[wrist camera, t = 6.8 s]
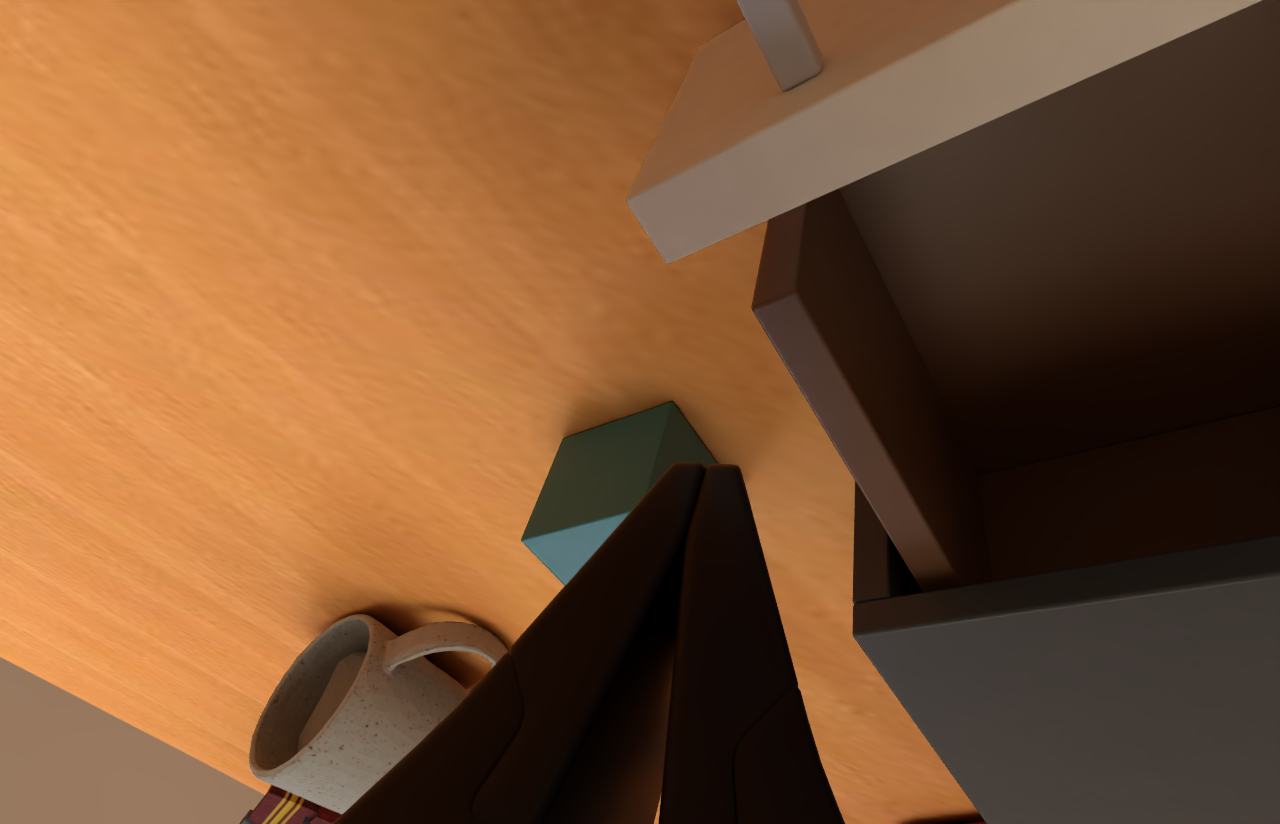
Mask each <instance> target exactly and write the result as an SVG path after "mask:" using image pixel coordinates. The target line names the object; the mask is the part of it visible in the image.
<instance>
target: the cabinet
mask: <svg viewBox="0 0 1280 824" xmlns="http://www.w3.org/2000/svg"><path fill="white" fill-rule="evenodd" d="M853 603H854V606H853V636H854V638H855V639H856V641H857V642H858V644H859V645H860V646H861V648H862V649H863V651H864V652H865V653H866V655H867V656H868V658H869V659H870V660H871V662H872V663H873V665H874V666H875V667H876V669H877V670H878V672H879V673H880V674H881V676H882V677H883V679H884V680H885V681H886V683H887V684H888V686H889V687H890V688H891V690H892V691H893V693H894V694H895V695H896V697H897V698H898V700H899V701H900V702H901V704H902V705H903V707H904V708H905V709H906V711H907V712H908V714H909V715H910V717H911V718H912V719H913V721H914V722H915V724H916V725H917V726H918V728H919V729H920V731H921V732H922V733H923V735H924V736H925V738H926V739H927V740H928V742H929V743H930V745H931V746H932V747H933V749H934V750H935V752H936V753H937V754H938V756H939V757H940V759H941V760H942V761H943V763H944V764H945V766H946V767H947V768H948V770H949V771H950V773H951V774H952V775H953V777H954V778H955V780H956V781H957V782H958V784H959V785H960V787H961V788H962V789H963V791H964V792H965V794H966V795H967V796H968V798H969V799H970V801H971V802H972V803H973V805H974V806H975V808H976V809H977V810H978V812H979V813H980V815H981V816H982V817H983V819H984V820H985V822H986V823H987V824H1280V534H1279V535H1273V536H1267V537H1261V538H1254V539H1248V540H1242V541H1236V542H1230V543H1224V544H1218V545H1211V546H1205V547H1199V548H1193V549H1187V550H1181V551H1175V552H1169V553H1162V554H1156V555H1150V556H1144V557H1138V558H1132V559H1126V560H1120V561H1113V562H1107V563H1101V564H1095V565H1089V566H1083V567H1077V568H1071V569H1064V570H1058V571H1052V572H1046V573H1040V574H1034V575H1028V576H1021V577H1015V578H1009V579H1003V580H997V581H991V582H985V583H979V584H972V585H966V586H960V587H954V588H948V589H942V590H936V591H930V592H923V591H922V589H921V588H920V586H919V585H918V583H917V581H916V580H915V578H914V576H913V575H912V573H911V571H910V570H909V568H908V566H907V565H906V563H905V561H904V560H903V558H902V556H901V555H900V553H899V552H898V550H897V548H896V547H895V545H894V543H893V542H892V540H891V538H890V537H889V535H888V533H887V532H886V530H885V528H884V527H883V525H882V523H881V522H880V520H879V519H878V517H877V515H876V514H875V512H874V510H873V509H872V507H871V505H870V504H869V502H868V500H867V499H866V497H865V495H864V494H863V492H862V491H861V489H860V487H859V486H858V484H857V482H856V481H855V519H854V567H853Z"/></svg>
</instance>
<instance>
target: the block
mask: <svg viewBox="0 0 1280 824" xmlns="http://www.w3.org/2000/svg"><path fill="white" fill-rule="evenodd" d="M677 462H687V463H702V464H704V465H706V467H708V466H709V465H710V464H718V463H717V462H716V461H715V459H714V458H713V457H712V455H711V454H710V452H709V451H708V450H707V448H706V447H705V446H704V444H703V443H702V441H701V440H700V439H699V437H698V436H697V434H696V433H695V432H694V430H693V429H692V428H691V426H690V425H689V423H688V422H687V421H686V419H685V418H684V417H683V415H682V414H681V412H680V411H679V410H678V408H677V407H676V406H675V404H674V403H673V402H670V403H667V404H664V405H661V406H658V407H655V408H652V409H649V410H646V411H643V412H640V413H637V414H634V415H631V416H629V417H626V418H623V419H620V420H617V421H614V422H611V423H608V424H605V425H602V426H599V427H596V428H593V429H590V430H587V431H584V432H581V433H578V434H575V435H572V436H569V437H566V438H564V439H563V440H562V442H561V444H560V447H559V449H558V451H557V454H556V456H555V459H554V461H553V464H552V466H551V468H550V471H549V473H548V476H547V478H546V480H545V483H544V485H543V488H542V490H541V493H540V495H539V497H538V500H537V502H536V505H535V507H534V509H533V512H532V514H531V517H530V519H529V522H528V524H527V526H526V529H525V531H524V534H523V536H522V539H521V541H522V542H523V543H524V544H525V545H526V546H527V547H528V548H529V549H530V551H531V552H532V553H533V554H534V555H535V556H536V557H537V558H538V559H539V560H540V561H541V562H542V563H543V564H544V565H545V566H546V567H547V568H548V569H549V570H550V571H551V572H552V573H553V574H554V575H555V576H556V577H557V578H558V579H559V580H560V581H561V582H562V583H563V584H564V585H566V584H567V583H568V582H569V581H570V580H571V579H572V577H573V576H574V575H575V574H576V573H577V572H578V571H579V570H580V568H581V567H582V566H583V565H584V564H585V563H586V562H587V561H588V559H589V558H590V557H591V556H592V555H593V554H594V553H595V551H596V550H597V549H598V548H599V547H600V546H601V545H602V544H603V542H604V541H605V540H606V539H607V538H608V537H609V536H610V535H611V533H612V532H613V531H614V530H615V529H616V528H617V527H618V525H619V524H620V523H621V522H622V521H623V520H624V519H625V518H626V516H627V515H628V514H629V513H630V512H631V511H632V510H633V509H634V507H635V506H636V505H637V504H638V503H639V502H640V501H641V499H642V498H643V497H644V496H645V495H646V494H647V493H648V492H649V490H650V489H651V488H652V487H653V486H654V485H655V484H656V482H657V481H658V480H659V479H660V478H661V477H662V476H663V475H664V473H665V472H666V471H667V470H668V469H669V468H670V467H671V466H672V465H673V464H675V463H677Z"/></svg>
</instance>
